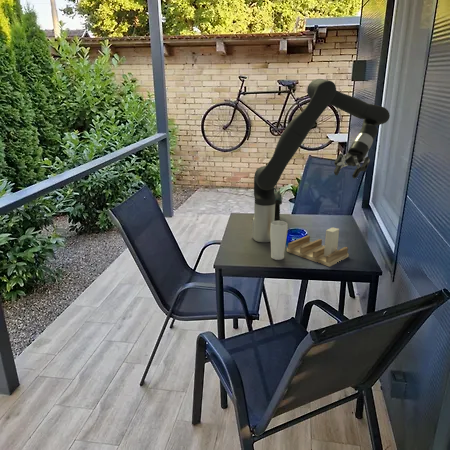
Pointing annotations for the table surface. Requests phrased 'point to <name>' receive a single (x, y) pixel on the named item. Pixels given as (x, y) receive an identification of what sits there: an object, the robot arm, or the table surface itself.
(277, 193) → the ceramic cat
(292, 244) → the ridged wooden tray
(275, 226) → the drinking glass
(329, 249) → the cream rectangular block
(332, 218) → the table surface
